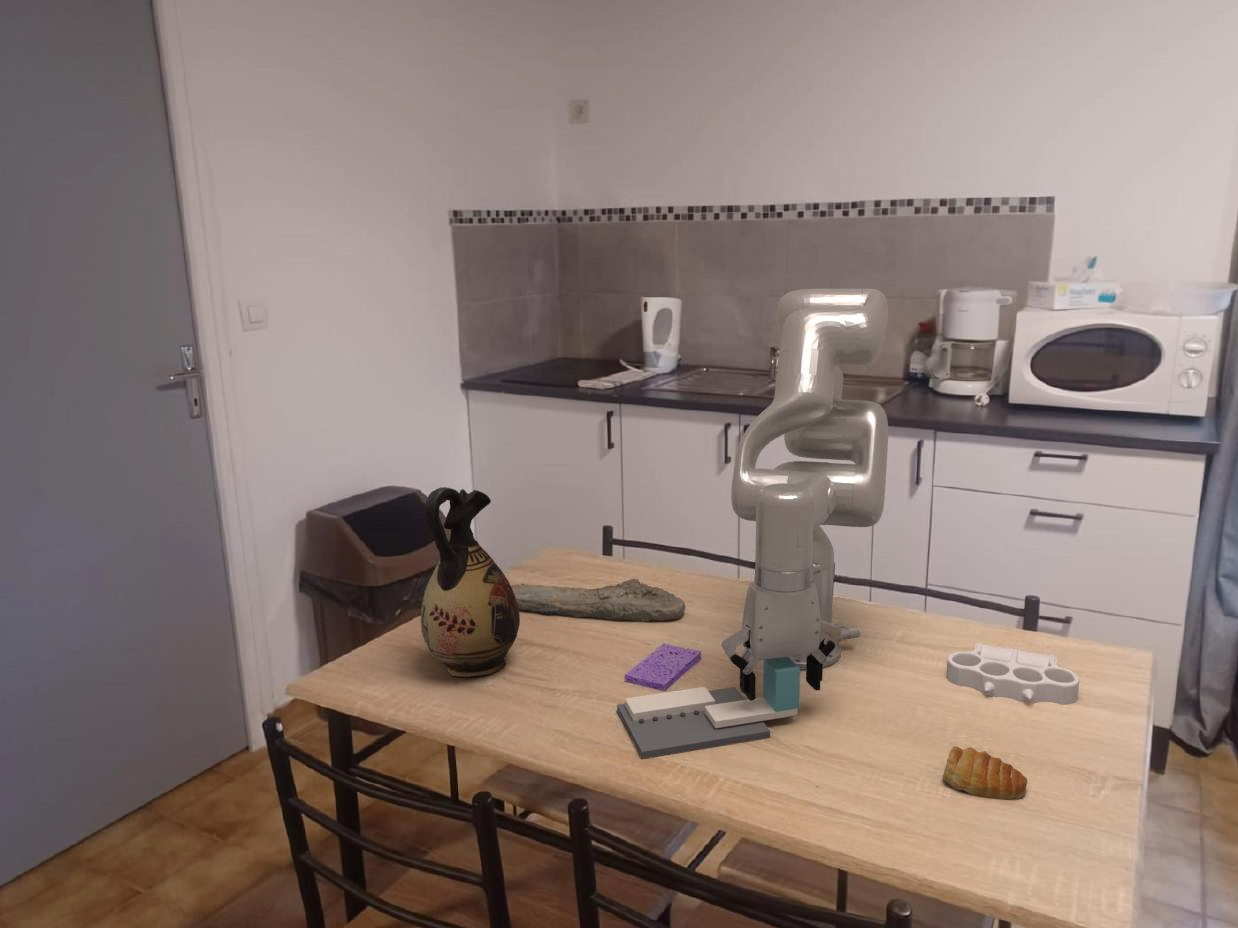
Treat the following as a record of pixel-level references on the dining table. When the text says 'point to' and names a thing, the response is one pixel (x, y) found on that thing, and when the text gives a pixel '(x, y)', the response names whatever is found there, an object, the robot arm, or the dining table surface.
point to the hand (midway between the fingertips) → (781, 690)
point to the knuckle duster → (1013, 675)
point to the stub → (775, 702)
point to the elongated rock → (601, 601)
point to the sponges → (663, 667)
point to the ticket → (668, 704)
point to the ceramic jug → (466, 592)
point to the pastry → (983, 774)
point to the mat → (689, 730)
